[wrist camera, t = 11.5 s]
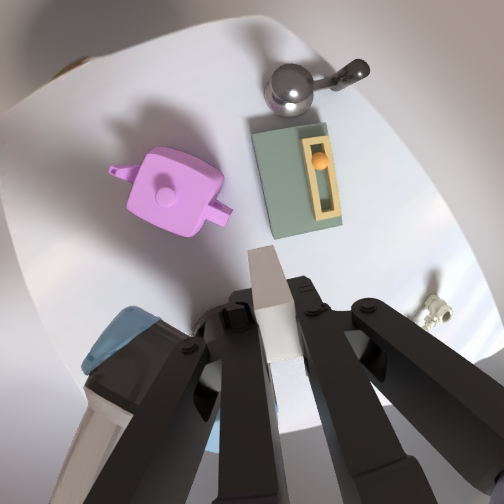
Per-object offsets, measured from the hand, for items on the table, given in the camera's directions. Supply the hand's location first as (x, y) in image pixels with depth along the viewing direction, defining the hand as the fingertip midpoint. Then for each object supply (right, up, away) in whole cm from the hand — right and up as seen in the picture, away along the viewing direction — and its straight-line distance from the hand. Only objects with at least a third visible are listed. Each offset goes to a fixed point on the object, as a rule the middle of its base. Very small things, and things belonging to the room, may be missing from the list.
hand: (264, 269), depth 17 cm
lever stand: (+6, +12, +26) cm, 30 cm away
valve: (+36, -13, +37) cm, 54 cm away
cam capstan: (+7, +25, +21) cm, 34 cm away
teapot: (-12, +11, +26) cm, 31 cm away
